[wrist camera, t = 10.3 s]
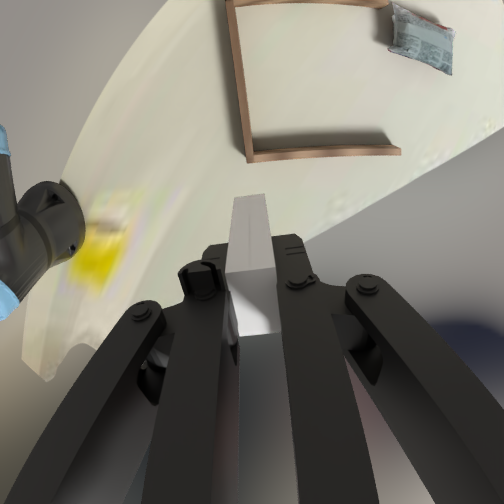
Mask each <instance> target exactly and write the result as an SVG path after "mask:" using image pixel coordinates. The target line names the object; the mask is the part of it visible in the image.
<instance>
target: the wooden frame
mask: <svg viewBox="0 0 504 504" xmlns="http://www.w3.org/2000/svg"><path fill="white" fill-rule="evenodd" d="M225 3H226V11H227V18H228V25H229V32H230V40H231V47H232V54H233V62H234V69H235V77H236V84H237V92H238V99H239V107H240V115H241V122H242V130H243V138H244V145H245V153H246V161H247V163H256V162H266V161H277V160H288V159H302V158H317V157H337V156H372V155H401V148H399V147H396V146H394V145H335V146H313V147H298V148H284V149H273V150H262V151H254V149H253V141H252V133H251V125H250V117H249V109H248V101H247V93H246V86H245V78H244V70H243V63H242V55H241V48H240V41H239V33H238V26H237V19H236V12H235V7H241V6H250V5H261V4H277V3H327V4H343V5H354V6H363V7H371V8H378V9H382V8H383V7H385V6H387V5H388V4H389V3H388V0H225Z"/></svg>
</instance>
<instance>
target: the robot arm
mask: <svg viewBox="0 0 504 504" xmlns="http://www.w3.org/2000/svg"><path fill="white" fill-rule="evenodd" d="M10 156H11V154H10V152H9V149H8V142H7V134H6V130H5V128H4V127H3V126H1V125H0V321H2V320H4V319H6V318H7V317H8V315H10V314H11V312H12V311H13V310H14V309H15V308H17V307H18V306H19V304H20V302H21V301H22V300H23V299H24V297H25V296H26V295H27V294H28V292H29V291H30V290H31V289H32V287H33V286H34V285H35V284H36V283H37V281H38V280H39V279H40V278H41V277H42V276H43V274H44V273H45V272H46V271H47V270H48V269H49V268H51V267H53V266H55V265H58V264H60V263H62V262H65V261H67V260H69V259H70V258H72V257H73V256H74V255H75V254H76V253H77V252H78V251H79V249H80V248H81V246H82V245H83V242H84V239H85V221H84V217H83V213H82V211H81V208H80V206H79V204H78V202H77V201H76V199H75V198H74V197H73V195H72V194H71V193H70V192H69V191H68V190H67V189H66V188H64V187H63V186H61V185H60V184H58V183H55V182H51V181H44V182H40V183H38V184H36V185H35V186H33V187H31V188H30V189H29V190H28V191H27V192H26V193H25V194H24V195H23V197H22V198H21V200H20V201H19V202H18V204H17V201H16V196H15V190H14V184H13V178H12V171H11V163H10ZM178 277H179V280H180V283H181V286H182V289H183V292H184V295H185V296H184V300H183V302H181V303H179V304H176V305H174V306H171V307H167V308H164V309H162V308H161V306H160V304H158V303H157V302H156V301H152V300H146V301H141V302H138V303H136V304H134V305H132V306H131V307H130V308H129V309H128V310H126V311H125V313H124V314H123V315H122V317H121V318H120V319H119V321H118V322H117V323H116V325H115V326H114V328H113V329H112V330H111V332H110V333H109V334H108V336H107V337H106V338H105V340H104V341H103V343H102V344H101V345H100V347H99V348H98V350H97V351H96V353H95V354H94V355H93V357H92V358H91V360H90V361H89V362H88V364H87V366H86V367H85V368H84V370H83V371H82V373H81V374H80V376H79V377H78V378H77V380H76V382H75V383H74V384H73V386H72V387H71V389H70V391H69V392H68V393H67V395H66V396H65V398H64V400H63V401H62V403H61V404H60V406H59V407H58V409H57V411H56V412H55V414H54V415H53V417H52V418H51V420H50V422H49V423H48V425H47V427H46V428H45V430H44V431H43V433H42V435H41V437H40V438H39V440H38V441H37V443H36V445H35V447H34V449H33V450H32V452H31V454H30V455H29V457H28V459H27V461H26V462H25V464H24V467H23V468H22V470H21V471H20V473H19V475H18V477H17V479H16V481H15V483H14V485H13V487H12V489H11V491H10V493H9V494H8V496H7V499H6V501H5V503H4V504H122V503H123V501H124V498H125V496H126V494H127V492H128V490H129V487H130V485H131V483H132V481H133V479H134V476H135V474H136V472H137V470H138V468H139V466H140V463H141V461H142V459H143V457H144V455H145V453H146V450H147V448H148V446H149V444H150V442H151V446H150V452H149V457H148V463H147V469H146V475H145V481H144V488H143V494H142V501H141V504H238V447H239V446H238V445H239V374H240V346H239V342H238V338H237V337H238V331H239V335H240V336H249V335H259V334H268V333H276V332H281V333H282V342H283V352H284V359H285V369H286V378H287V387H288V397H289V407H290V416H291V427H292V436H293V448H294V459H295V470H296V482H297V493H298V504H379V499H378V494H377V489H376V484H375V479H374V474H373V470H372V465H371V460H370V456H369V451H368V447H367V443H366V439H365V434H364V430H363V426H362V422H361V418H360V414H359V410H358V406H357V403H356V399H355V395H354V391H353V388H352V384H351V380H350V377H349V373H348V370H347V366H346V363H345V359H344V356H345V358H346V359H347V361H348V363H349V364H350V366H351V367H352V369H353V370H354V372H355V373H356V375H357V377H358V378H359V380H360V381H361V383H362V385H363V386H364V388H365V389H366V391H367V392H368V394H369V395H370V397H371V399H372V400H373V402H374V403H375V405H376V407H377V408H378V410H379V411H380V413H381V414H382V416H383V418H384V420H385V421H386V423H387V424H388V426H389V427H390V429H391V431H392V432H393V434H394V436H395V437H396V439H397V441H398V442H399V444H400V445H401V447H402V449H403V450H404V452H405V454H406V455H407V457H408V459H409V460H410V462H411V464H412V465H413V467H414V468H415V470H416V471H417V474H418V475H419V477H420V479H421V480H422V482H423V484H424V485H425V487H426V489H427V490H428V492H429V494H430V495H431V497H432V499H433V501H434V502H435V504H504V409H502V407H501V406H500V404H499V403H498V402H497V401H496V399H495V398H494V397H493V396H492V394H491V393H490V392H489V391H488V390H487V389H486V387H485V386H484V385H483V384H482V382H481V381H480V380H479V379H478V378H477V377H476V375H475V374H474V373H473V372H472V371H471V370H470V368H469V367H468V366H467V365H466V364H465V363H464V362H463V361H462V359H461V358H460V357H459V356H458V355H457V354H456V353H455V352H454V351H453V349H452V348H451V347H450V346H449V345H448V344H447V343H446V342H445V341H444V340H443V339H442V337H441V336H440V335H439V334H438V333H437V332H436V331H435V330H434V329H433V328H432V327H431V326H430V325H429V324H428V323H427V322H426V321H425V320H424V319H423V318H422V317H421V316H420V314H419V313H417V312H416V311H415V309H414V308H413V307H411V305H410V304H409V303H407V301H406V300H404V299H403V297H402V296H401V295H399V294H398V293H397V292H396V291H395V290H394V289H393V288H392V287H391V286H390V285H389V284H388V283H387V282H386V281H385V280H383V279H382V278H380V277H379V276H375V275H372V274H361V275H356V276H354V277H352V278H350V279H349V281H348V282H347V283H346V287H344V286H332V285H328V284H325V283H322V282H320V280H319V278H318V277H317V275H316V274H314V273H313V271H312V268H311V265H310V262H309V259H308V256H307V253H306V250H305V247H304V244H303V241H302V239H301V238H300V237H299V236H297V235H296V234H288V235H280V236H272V237H271V233H270V226H269V220H268V213H267V207H266V200H265V194H257V195H250V196H243V197H235V198H234V203H233V211H232V219H231V227H230V235H229V243H224V244H216V245H210V246H209V247H208V248H207V249H206V250H205V251H204V252H203V255H202V259H201V260H197V261H193V262H191V263H189V264H187V265H185V266H184V267H183V268H181V269H180V271H179V272H178ZM343 355H344V356H343ZM144 361H145V362H144ZM143 363H144V364H143ZM142 364H143V365H142Z"/></svg>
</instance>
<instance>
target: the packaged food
mask: <svg viewBox="0 0 504 504" xmlns="http://www.w3.org/2000/svg"><path fill="white" fill-rule="evenodd" d="M391 2H392V1H391ZM392 6H393V9H394V15H393V16H392V21H393V22H394V27H393V31H394V40H393V46H390V47H389V48H388V51H390V52H393V53H396V54H399V55H402V56H405V57H408V58H411V59H415V60H418V61H421V62H423V63H426V64H428V65H431V66H432V67H434V68H436V69H438V70H440V71H442V72H444V73H445V74H447V75H452V56H453V52H452V51H453V39H454V37H455V34H456V31H455V30H454V29H452V28H446V27H444V26H442V25H439V24H436V23H433V22H431V21H429V20H427V19H425V18H423V17H422V16H418V15H415V14H414V13H412V12H410V11H408V10H406V9H404V8H402V7H400V6H398V5H396V4H395V3H393V2H392Z"/></svg>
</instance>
